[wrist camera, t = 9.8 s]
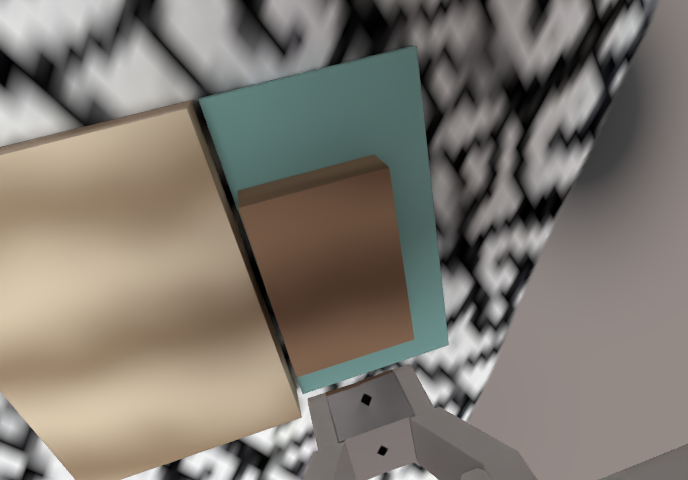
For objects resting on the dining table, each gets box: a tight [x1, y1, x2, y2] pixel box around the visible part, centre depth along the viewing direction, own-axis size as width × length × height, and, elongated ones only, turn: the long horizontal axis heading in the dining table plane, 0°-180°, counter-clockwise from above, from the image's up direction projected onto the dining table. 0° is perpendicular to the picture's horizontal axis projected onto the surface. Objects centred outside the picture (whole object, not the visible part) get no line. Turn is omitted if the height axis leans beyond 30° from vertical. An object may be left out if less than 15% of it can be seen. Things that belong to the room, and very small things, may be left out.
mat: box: [199, 46, 449, 394], centre depth 20 cm, size 16×9×1 cm, turn 12°
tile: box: [238, 154, 414, 378], centre depth 19 cm, size 9×6×2 cm, turn 11°
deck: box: [0, 100, 301, 480], centre depth 19 cm, size 16×11×2 cm
